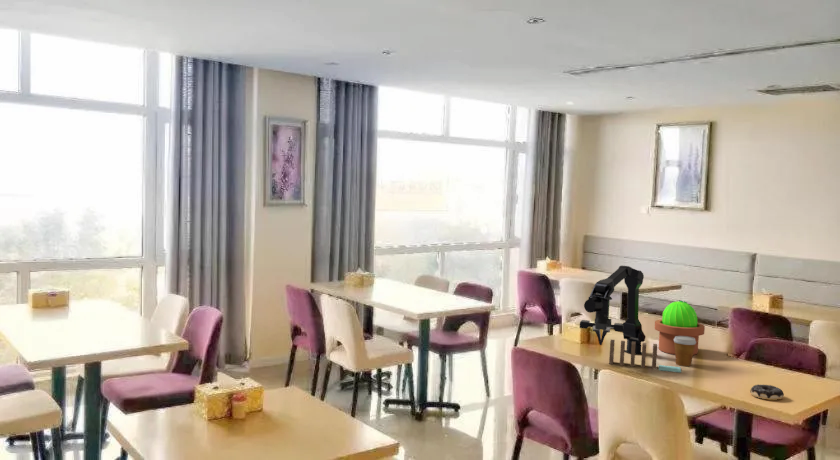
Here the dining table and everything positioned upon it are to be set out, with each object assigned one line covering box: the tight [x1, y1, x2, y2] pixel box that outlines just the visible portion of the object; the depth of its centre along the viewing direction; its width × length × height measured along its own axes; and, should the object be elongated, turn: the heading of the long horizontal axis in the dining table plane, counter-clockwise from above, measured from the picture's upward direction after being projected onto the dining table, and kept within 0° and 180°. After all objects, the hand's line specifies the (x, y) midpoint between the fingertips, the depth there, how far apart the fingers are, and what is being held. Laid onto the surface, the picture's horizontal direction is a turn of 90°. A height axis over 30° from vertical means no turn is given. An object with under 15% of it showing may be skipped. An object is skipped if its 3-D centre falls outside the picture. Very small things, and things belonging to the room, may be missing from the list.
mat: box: [658, 364, 682, 373], centre depth 305 cm, size 9×8×1 cm
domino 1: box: [608, 339, 615, 366], centre depth 312 cm, size 2×5×10 cm, turn 162°
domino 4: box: [640, 342, 647, 369], centre depth 308 cm, size 2×5×10 cm, turn 162°
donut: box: [749, 384, 785, 401], centre depth 269 cm, size 11×12×4 cm
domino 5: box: [651, 343, 658, 370], centre depth 307 cm, size 2×5×10 cm, turn 162°
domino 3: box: [630, 342, 636, 368], centre depth 310 cm, size 2×5×10 cm, turn 162°
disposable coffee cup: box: [674, 336, 696, 367], centre depth 314 cm, size 10×10×12 cm
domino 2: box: [619, 340, 626, 366], centre depth 311 cm, size 2×5×10 cm, turn 162°
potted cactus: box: [654, 300, 706, 356], centre depth 339 cm, size 22×22×25 cm
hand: (600, 344), depth 314 cm, fingers closed
